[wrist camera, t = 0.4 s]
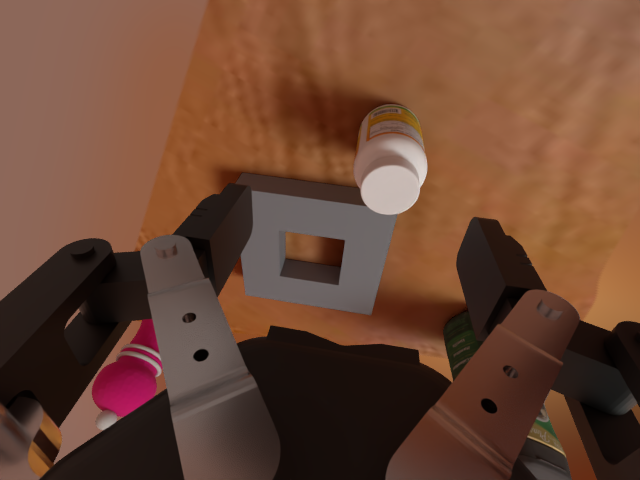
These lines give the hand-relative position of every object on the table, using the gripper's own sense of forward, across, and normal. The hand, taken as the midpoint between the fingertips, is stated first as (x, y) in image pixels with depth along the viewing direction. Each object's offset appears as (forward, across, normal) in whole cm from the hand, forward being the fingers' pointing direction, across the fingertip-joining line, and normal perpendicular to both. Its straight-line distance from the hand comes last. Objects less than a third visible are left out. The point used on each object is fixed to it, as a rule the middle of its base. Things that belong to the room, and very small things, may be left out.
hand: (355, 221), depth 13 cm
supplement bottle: (+20, -2, +3) cm, 21 cm away
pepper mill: (+22, +21, +27) cm, 41 cm away
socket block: (+21, +4, +17) cm, 28 cm away
